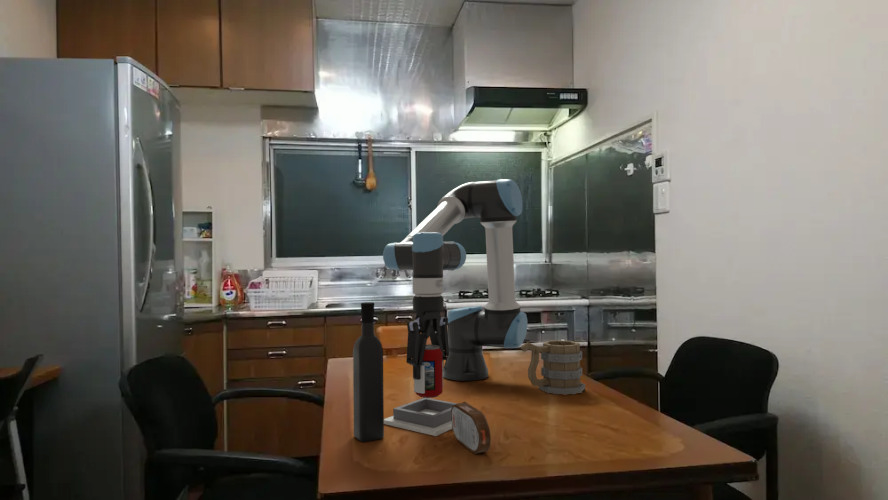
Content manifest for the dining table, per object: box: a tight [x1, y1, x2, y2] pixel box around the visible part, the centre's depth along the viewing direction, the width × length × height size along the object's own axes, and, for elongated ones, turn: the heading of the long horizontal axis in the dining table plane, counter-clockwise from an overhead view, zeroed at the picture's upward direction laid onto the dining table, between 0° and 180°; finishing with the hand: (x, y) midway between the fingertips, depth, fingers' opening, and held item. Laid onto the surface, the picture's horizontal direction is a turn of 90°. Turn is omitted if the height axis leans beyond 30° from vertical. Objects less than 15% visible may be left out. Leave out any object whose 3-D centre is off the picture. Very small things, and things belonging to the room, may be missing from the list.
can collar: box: [384, 397, 458, 437], centre depth 131 cm, size 16×16×4 cm
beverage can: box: [414, 344, 444, 399], centre depth 131 cm, size 7×7×12 cm
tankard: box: [520, 340, 586, 396], centre depth 159 cm, size 20×13×15 cm, turn 108°
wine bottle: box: [352, 301, 385, 443], centre depth 120 cm, size 6×6×30 cm
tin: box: [451, 401, 492, 455], centre depth 113 cm, size 15×3×8 cm, turn 22°
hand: (428, 389), depth 131 cm, fingers closed on beverage can, 7 cm apart
